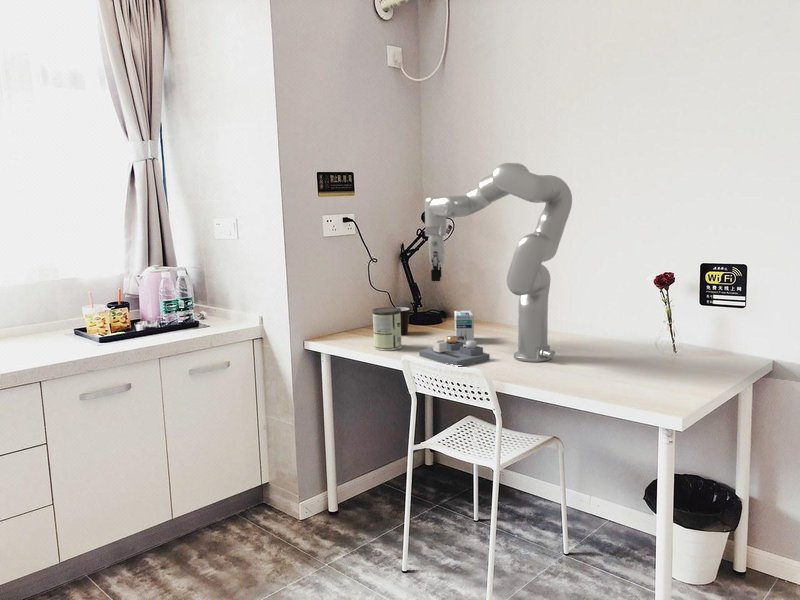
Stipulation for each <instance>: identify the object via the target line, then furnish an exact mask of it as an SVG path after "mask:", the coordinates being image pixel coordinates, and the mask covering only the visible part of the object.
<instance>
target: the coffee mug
mask: <svg viewBox="0 0 800 600" xmlns="http://www.w3.org/2000/svg"><path fill="white" fill-rule="evenodd" d="M395 308H400V309H401V311H400V317H401V336H405V335H408V332H409V330H408V329H409V323H410V322H409V320H410V310H411V309H410V308H409V307H404V306H400V307H396V306H395Z"/></svg>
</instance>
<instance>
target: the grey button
mask: <svg viewBox="0 0 800 600" xmlns="http://www.w3.org/2000/svg"><path fill="white" fill-rule="evenodd" d="M477 343H478V342H477V340H475V339H474V340H469V341H466V344H465V346H466V348H467V349H476V348H477V346H478V344H477Z"/></svg>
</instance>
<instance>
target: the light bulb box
mask: <svg viewBox="0 0 800 600" xmlns="http://www.w3.org/2000/svg"><path fill="white" fill-rule="evenodd" d="M453 316H454V317H453V318H454V336H457V341H459V342H463V345H464V344H465V345H466V341H469V340H474V341H475V333H474V331H475V330H474V328H475V326H474V322H475V321H474V314H473V312H472V310H454V314H453Z"/></svg>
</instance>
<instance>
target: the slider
mask: <svg viewBox="0 0 800 600" xmlns="http://www.w3.org/2000/svg"><path fill="white" fill-rule="evenodd" d="M432 343H433V344H432V346H433V347H432V348H433V351H436V352H444V351H447V342H446V341H445V339H444V338H440V339H435V341H433V342H432Z"/></svg>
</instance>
